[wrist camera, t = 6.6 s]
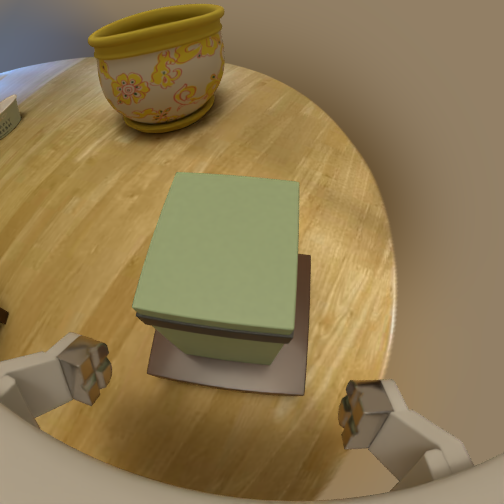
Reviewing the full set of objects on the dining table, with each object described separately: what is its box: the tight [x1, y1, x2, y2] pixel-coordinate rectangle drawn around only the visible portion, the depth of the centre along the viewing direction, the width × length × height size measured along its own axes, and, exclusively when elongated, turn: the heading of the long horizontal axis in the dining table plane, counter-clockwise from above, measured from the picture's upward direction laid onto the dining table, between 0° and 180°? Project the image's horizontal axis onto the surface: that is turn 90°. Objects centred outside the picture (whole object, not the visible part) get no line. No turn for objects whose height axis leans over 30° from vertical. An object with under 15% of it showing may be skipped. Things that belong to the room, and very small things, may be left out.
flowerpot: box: [88, 4, 224, 133], centre depth 31 cm, size 18×18×16 cm
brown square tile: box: [147, 254, 311, 396], centre depth 21 cm, size 11×11×3 cm
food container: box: [0, 95, 21, 140], centre depth 39 cm, size 12×12×6 cm
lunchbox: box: [132, 172, 299, 365], centre depth 16 cm, size 6×7×10 cm
